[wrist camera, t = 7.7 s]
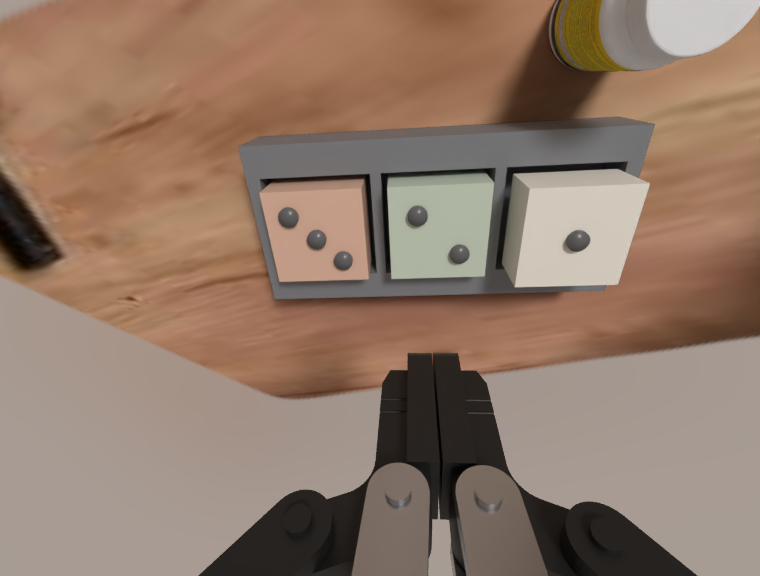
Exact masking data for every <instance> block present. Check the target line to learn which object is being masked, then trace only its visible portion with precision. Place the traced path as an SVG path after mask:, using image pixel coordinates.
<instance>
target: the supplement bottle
mask: <svg viewBox="0 0 760 576" xmlns="http://www.w3.org/2000/svg"><path fill="white" fill-rule="evenodd" d="M759 7H760V0H557V1H556V3H555V5H554V7H553V10H552V13H551V17H550V22H549V40H550V45H551V48H552V50H553V53H554V54H555V56H556V58H557V59H558V60H559V61H560V62H561V63H562V64H563V65H565V66H566V67H568V68H570V69H573V70H577V71H643V70H651V69H655V68H659V67H662V66H665V65H667V64H670V63H672V62H674V61H675V60H678V59H683V58H691V57H696V56H699V55H702V54H705V53H708V52H710V51H712V50H714V49H716V48H718V47H719V46H721V45H722V44H724V43H726V42H727V41H728V40H730V39H731V38H732V37H733V36H734V35H736V34H737V33H738V32H739V31H740V30H741V29H742V28H743V27H744V26H745V25H746V24H747V23H748V22H749V20H750V19H751V18H752V17H753V16H754V14H755V13H756V11H757V10H758V8H759Z"/></svg>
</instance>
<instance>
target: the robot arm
mask: <svg viewBox="0 0 760 576" xmlns="http://www.w3.org/2000/svg"><path fill="white" fill-rule="evenodd" d="M438 495H439V509H440V519H447V520H449V522H450V532H451V551H450V554H451V562H452V569H453V576H697V575H696V574H694V573H693V572H692V571H691V570H689V569H688V568H687V567H686V566H685V565H683V564H682V563H681V562H680V561H678V560H677V559H676V558H675V557H674V556H672V555H671V554H670V553H669V552H667V551H666V550H665V549H664V548H662V547H661V546H660V545H659V544H658V543H656V542H655V541H654V540H653V539H651V538H650V537H649V536H648V535H647V534H645V533H644V532H643V531H642V530H640V529H639V528H638V527H637V526H636V525H634V524H633V523H632V522H631V521H629V520H628V519H627V518H626V517H625V516H623V515H622V514H620V513H619V512H618V511H616V510H614V509H613V508H611V507H609V506H606V505H604V504H601V503H597V502H582V503H579V504H576V505H575V506H573V507H572V508H571V509H570V510H569V509H566V508H564V507H561V506H558V505H555V504H552V503H550V502H546V501H544V500H541V499H539V498H537V497H535V496H533V495H531V494H529V493H528V492H527V491H525V490H524V489H523V488H522V487H521V486H519V485H518V483H517V482H516V481H515V480H514V479H513V477H512V476H511V474H510V472H509V470H508V467H507V464H506V460H505V456H504V452H503V448H502V444H501V440H500V436H499V432H498V428H497V424H496V419H495V416H494V411H493V407H492V403H491V399H490V395H489V391H488V387H487V383H486V382H485V381H484V380H483V378H482V377H481V376H480V375H479V373H478V372H477V371H461V368H460V362H459V356H458V353H433V365H432V354H431V353H408V370H390V372H389V374H388V375H387V377H386V378H385V380H384V381H383V383H382V395H381V407H380V419H379V429H378V441H377V452H376V461H375V466H374V469H373V472H372V473H371V475H370V477H369V478H368V479H367V481H366V482H365V483H364V484H362V485H361V486H360V487H359V488H357V489H355V490H353V491H351V492H348V493H345V494H342V495H339V496H336V497H333V498H330V499H326V498H325V497H324V496H323V495H321V494H320V493H318V492H316V491H312V490H299V491H296V492H293V493H290V494H289V495H287V496H285V497H284V498H283V499H281V500H280V501H279V502H278V503H277V504H276V505H275V506H274V507H273V508H271V509H270V510H269V511H268V512H267V513H266V514H265V515H264V516H263V517H262V518H261V519H260V520H259V521H257V522H256V523H255V524H254V525H253V526H252V527H251V528H250V529H249V530H248V531H247V532H245V533H244V534H243V535H242V536H241V537H240V538H239V539H238V540H237V541H236V542H235V543H234V544H232V546H230V547H229V548H228V549H227V550H226V551H225V552H224V553H223V554H222V555H220V556H219V558H217V559H216V560H215V561H214V562H213V563H212V564H211V565H210V566H209V567H207V568H206V569H205V570H204V571H203V572H202V573H201V574H200V575H199V576H428V559H429V556H430V553H431V545H432V519H438Z"/></svg>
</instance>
